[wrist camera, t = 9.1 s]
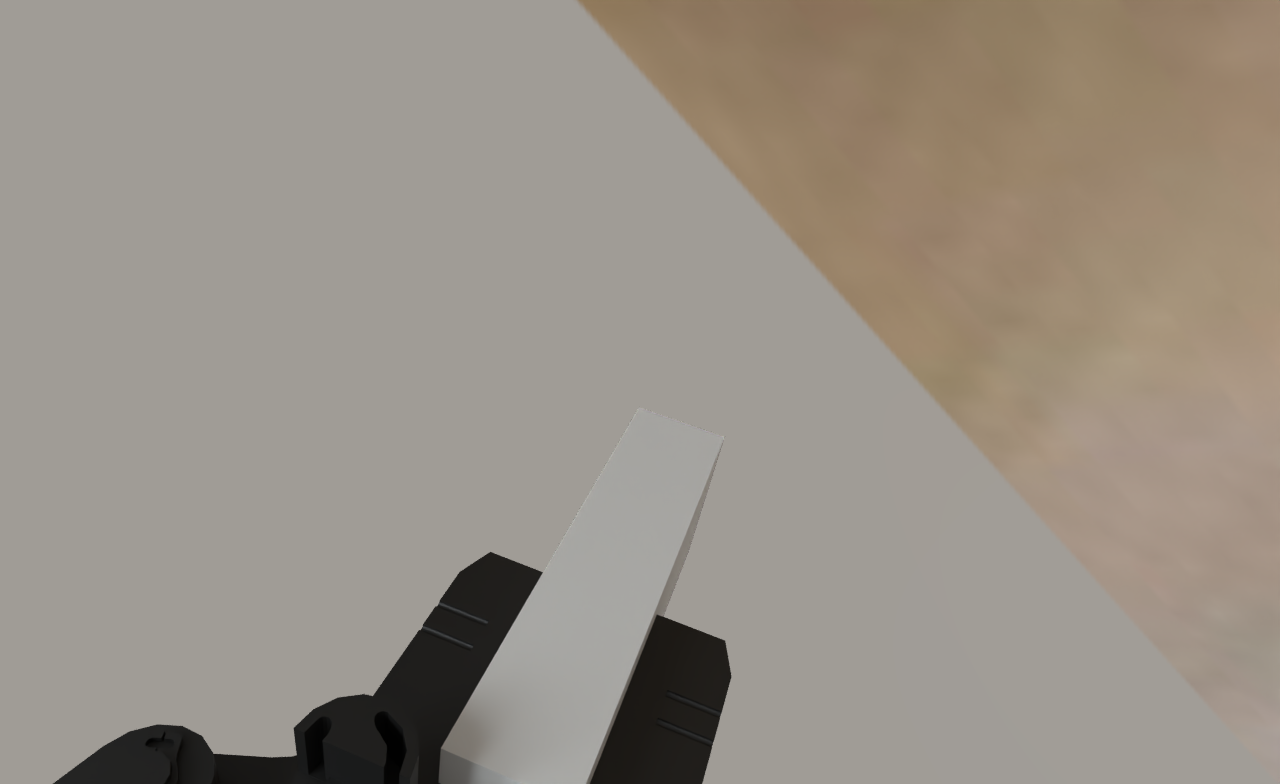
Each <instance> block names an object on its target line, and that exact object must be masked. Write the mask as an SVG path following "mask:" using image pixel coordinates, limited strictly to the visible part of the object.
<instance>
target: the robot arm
mask: <svg viewBox="0 0 1280 784" xmlns="http://www.w3.org/2000/svg"><path fill="white" fill-rule="evenodd" d="M723 441H724V436H721V435H718V434H715V433H712V432H710V431H707V430H704V429H701V428H698V427H695V426H692V425H689V424H686V423H683V422H681V421H678V420H675V419H672V418H669V417H666V416H663V415H661V414H658V413H655V412H652V411H649V410H646V409H643V408H640V407H639V408H638V410H637V411H636V413H635V415H634V417H633V418H632V420H631V422H630V424H629V425H628V427H627V429H626V430H625V432H624V434H623V436H622V437H621V439H620V441H619V442H618V444H617V446H616V448H615V449H614V451H613V453H612V455H611V456H610V458H609V460H608V461H607V463H606V465H605V467H604V469H603V470H602V472H601V474H600V475H599V477H598V479H597V480H596V482H595V484H594V486H593V488H592V489H591V491H590V492H589V494H588V496H587V498H586V499H585V501H584V503H583V505H582V506H581V508H580V510H579V511H578V513H577V515H576V517H575V518H574V520H573V522H572V523H571V525H570V527H569V529H568V530H567V532H566V534H565V536H564V537H563V539H562V541H561V542H560V544H559V546H558V548H557V549H556V551H555V553H554V554H553V556H552V558H551V560H550V561H549V563H548V565H547V566H546V568H545V570H544V572H540V571H538V570H536V569H533V568H530V567H528V566H525V565H523V564H520V563H517V562H515V561H512V560H510V559H507V558H505V557H502V556H499V555H497V554H494V553H492V552H490V553H488V554H487V555H485V556H484V557H482V558H480V559H479V560H477V561H476V562H474V563H473V564H471V565H470V566H468V567H467V568H465V569H464V570H462V571H461V572H459V574H458V575H457V577H456V578H455V580H454V581H453V582H452V584H451V585H450V587H449V588H448V590H447V591H446V592H445V594H444V595H443V597H442V598H441V600H440V602H439V604H438V606H437V607H435V608H434V610H433V611H432V612H431V614H430V615H429V617H428V618H427V620H426V621H425V622H424V624H423V627H422V629H421V630H419V631H418V632H417V634H416V635H415V637H414V638H413V640H412V641H411V642H410V644H409V645H408V647H407V648H406V650H405V651H404V652H403V654H402V655H401V657H400V658H399V660H398V661H397V662H396V664H395V666H394V667H393V668H392V670H391V671H390V673H389V674H388V675H387V677H386V678H385V680H384V681H383V683H382V684H381V685H380V687H379V688H378V690H377V691H376V693H375V694H374V695H373V696H369V695H365V694H362V695H355V696H347V697H340V698H336V699H334V700H332V701H330V702H328V703H326V704H324V705H322V706H320V707H317V708H315V709H313V710H312V711H311V712H310V713H309V714H308V715H307V716H306V717H305V718H304V719H303V720H302V721H301V722H300V723H299V724H297V725H296V727H294V734H295V743H296V751H297V755H296V756H293V757H273V758H271V757H270V758H269V757H256V756H240V755H223V754H213V752H212V751H211V749H210V748H209V746H208V745H207V743H206V742H205V740H204V739H203V737H202V736H201V735H199V734H197V733H195V732H193V731H191V730H189V729H187V728H185V727H183V726H171V725H154V726H150V727H146V728H142V729H138V730H134V731H130V732H128V733H126V734H125V735H123V736H121V737H119V738H117V739H116V740H114V741H112V742H110V743H108V744H107V745H105V746H103V747H102V748H100V749H99V750H98V751H97V752H95V753H94V754H92V755H91V756H90V757H88V758H87V759H86V760H84V761H83V762H82V763H80V764H79V765H77V766H76V767H75V768H74V769H72V770H71V771H69V772H68V773H67V774H65V775H64V776H63V777H61V778H60V779H59V780H57V781H56V782H55V783H53V784H702V782H703V779H704V775H705V771H706V768H707V764H708V760H709V757H710V753H711V749H712V745H713V741H714V738H715V734H716V731H717V727H718V724H719V720H720V715H721V712H722V709H723V705H724V702H725V698H726V694H727V690H728V687H729V683H730V679H731V672H730V666H729V660H728V655H727V649H726V643H725V641H724V640H722V639H719V638H717V637H714V636H712V635H709V634H706V633H704V632H701V631H699V630H696V629H693V628H691V627H688V626H686V625H683V624H680V623H678V622H675V621H673V620H670V619H668V618H665V617H663V616H664V614H665V611H666V608H667V606H668V603H669V601H670V598H671V596H672V593H673V590H674V588H675V585H676V583H677V580H678V577H679V575H680V572H681V570H682V567H683V565H684V562H685V559H686V557H687V554H688V552H689V548H690V545H691V542H692V539H693V536H694V533H695V530H696V526H697V523H698V520H699V517H700V514H701V510H702V507H703V504H704V501H705V498H706V494H707V491H708V488H709V485H710V482H711V478H712V476H713V472H714V469H715V466H716V463H717V460H718V456H719V453H720V450H721V447H722V444H723Z"/></svg>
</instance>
